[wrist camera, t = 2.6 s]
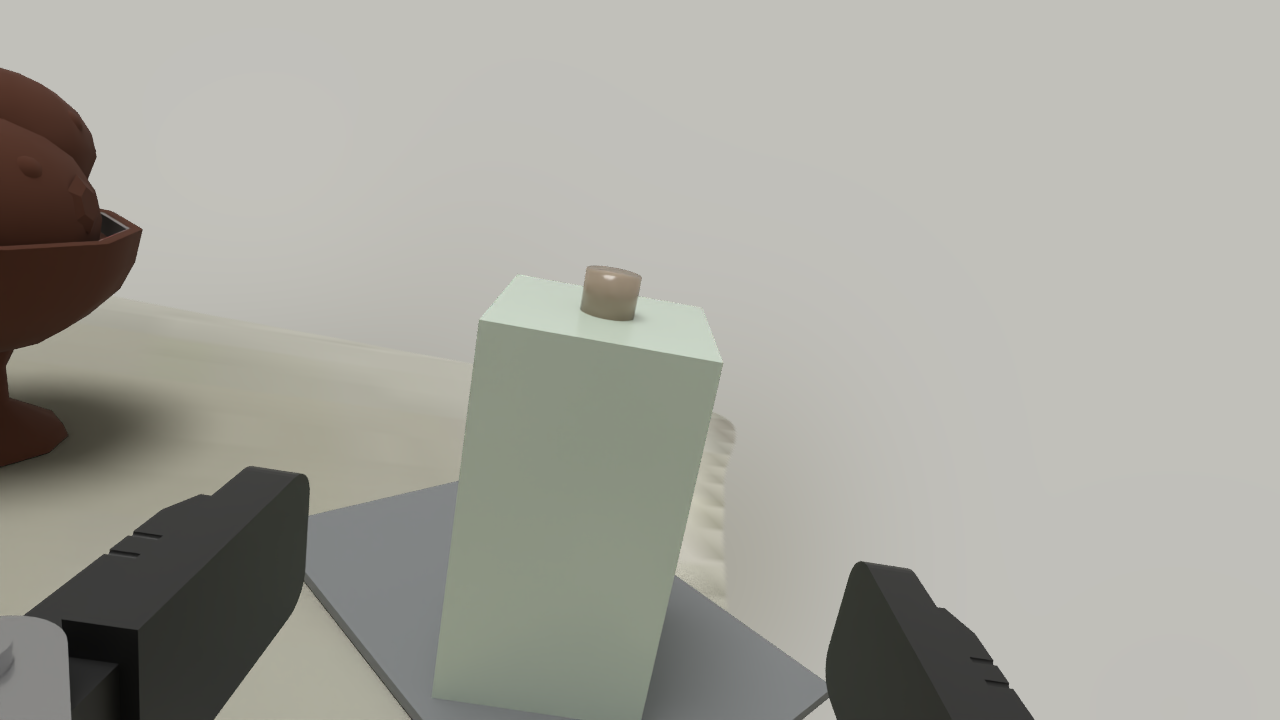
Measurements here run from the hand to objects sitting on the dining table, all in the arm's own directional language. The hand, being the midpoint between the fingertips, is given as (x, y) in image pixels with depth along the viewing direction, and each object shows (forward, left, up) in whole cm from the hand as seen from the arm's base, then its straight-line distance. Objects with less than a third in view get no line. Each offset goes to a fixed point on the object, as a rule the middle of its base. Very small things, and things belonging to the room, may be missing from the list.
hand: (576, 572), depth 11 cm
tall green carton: (-8, +8, -10) cm, 16 cm away
